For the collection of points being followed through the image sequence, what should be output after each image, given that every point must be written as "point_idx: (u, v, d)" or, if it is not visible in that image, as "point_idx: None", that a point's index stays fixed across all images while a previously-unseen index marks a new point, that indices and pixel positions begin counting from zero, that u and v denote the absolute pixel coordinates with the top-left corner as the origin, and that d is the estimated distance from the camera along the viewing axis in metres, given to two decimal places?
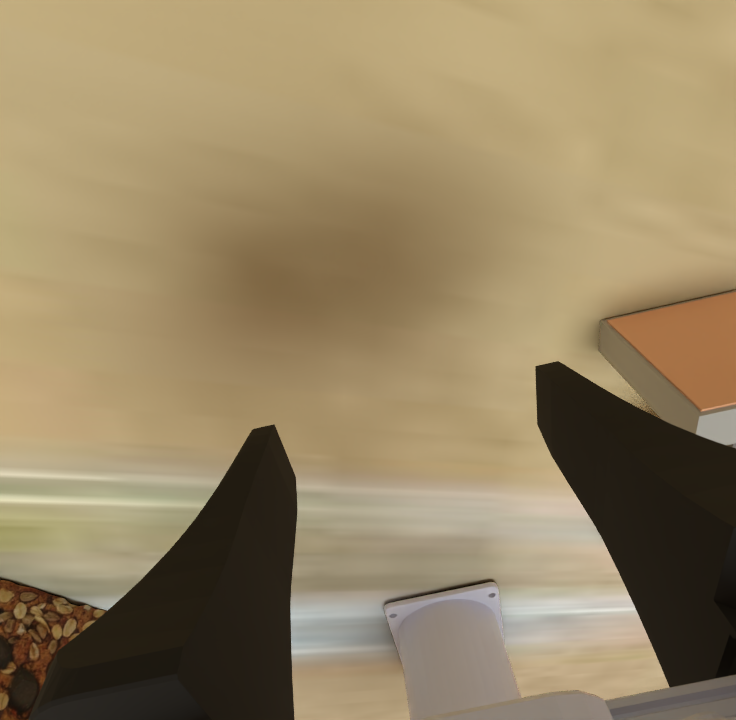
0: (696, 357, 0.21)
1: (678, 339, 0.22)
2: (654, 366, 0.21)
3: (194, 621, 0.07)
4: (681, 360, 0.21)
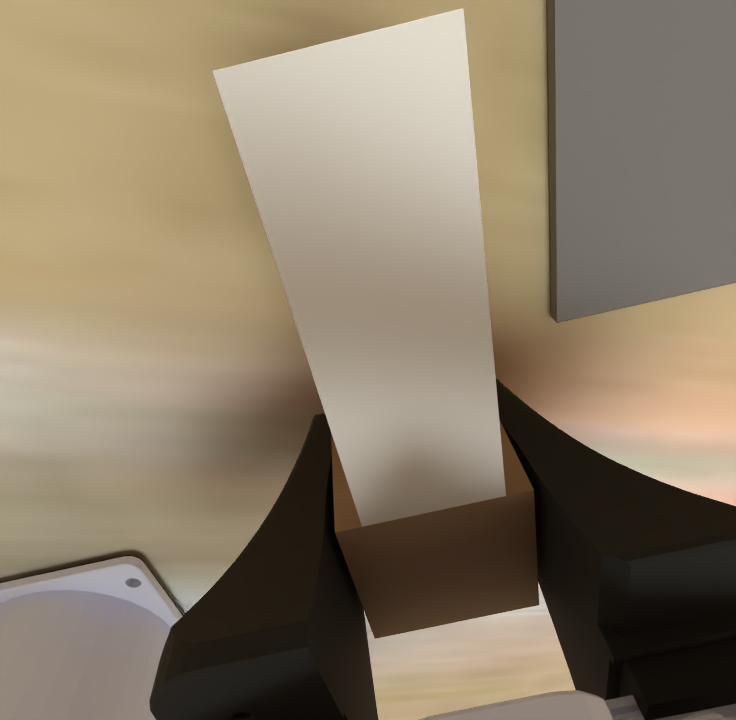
0: None
1: None
2: None
3: (309, 597, 0.07)
4: None
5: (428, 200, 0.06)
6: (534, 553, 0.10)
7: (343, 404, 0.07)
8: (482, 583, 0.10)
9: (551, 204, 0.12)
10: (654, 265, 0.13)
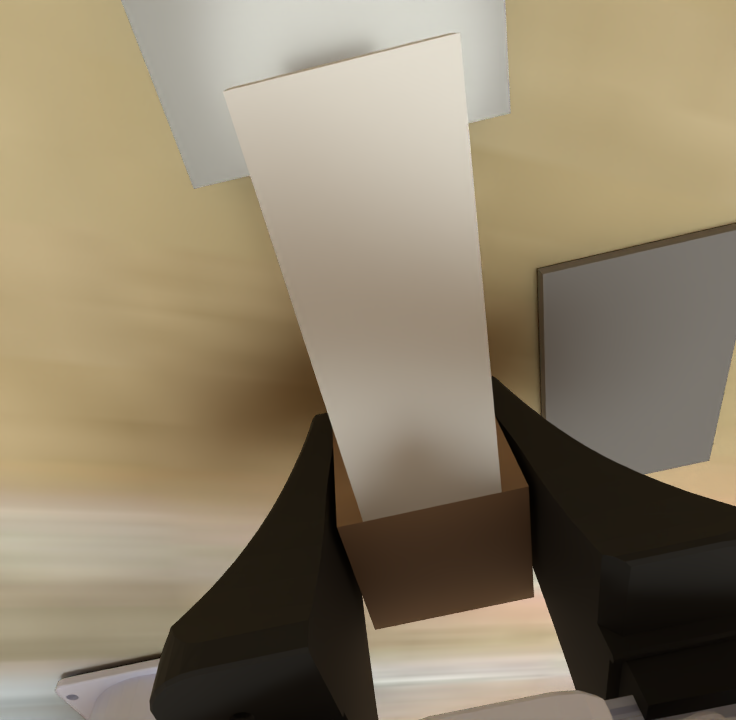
0: None
1: None
2: None
3: (309, 597, 0.07)
4: None
5: (427, 212, 0.06)
6: (529, 547, 0.10)
7: (346, 404, 0.08)
8: (478, 576, 0.11)
9: None
10: (617, 460, 0.18)
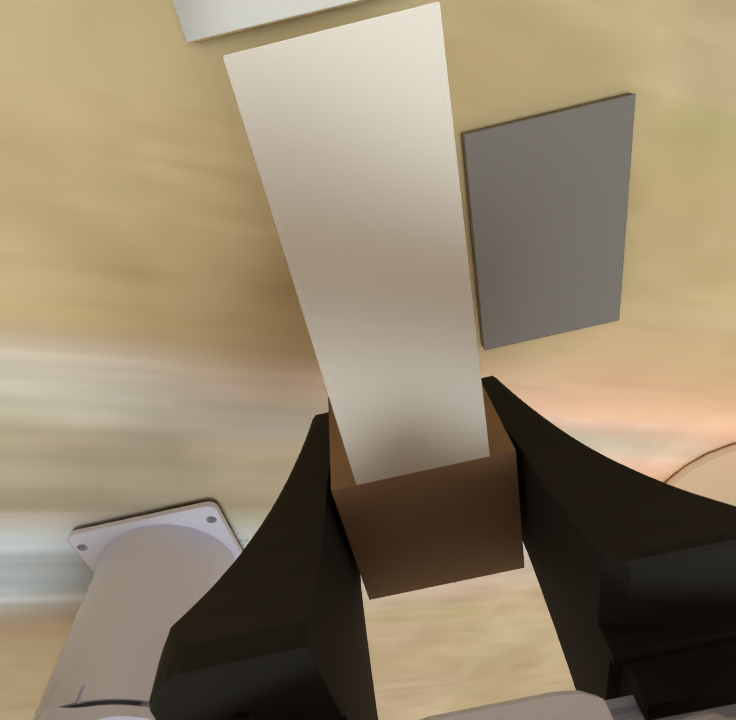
0: None
1: None
2: None
3: (309, 597, 0.07)
4: None
5: (411, 172, 0.07)
6: (518, 514, 0.10)
7: (338, 364, 0.08)
8: (470, 544, 0.11)
9: (476, 282, 0.21)
10: (541, 316, 0.22)
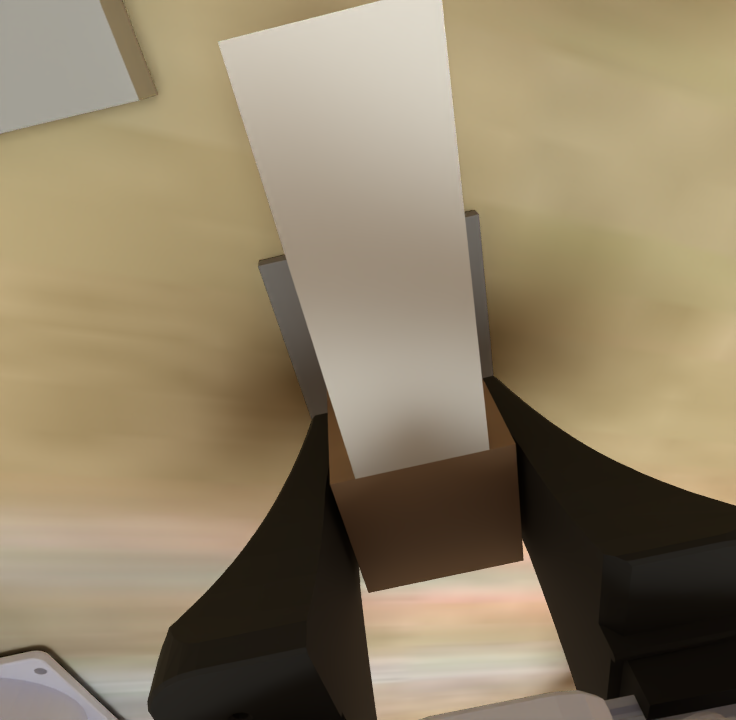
0: None
1: None
2: None
3: (307, 598, 0.07)
4: None
5: (411, 162, 0.07)
6: (517, 507, 0.10)
7: (337, 358, 0.08)
8: (469, 538, 0.11)
9: None
10: None
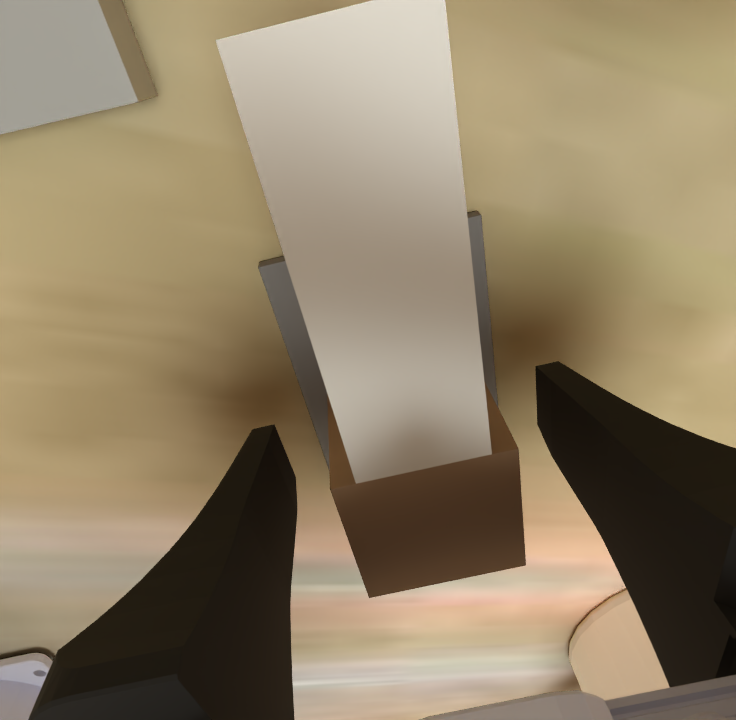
0: None
1: None
2: None
3: (194, 621, 0.07)
4: None
5: (414, 163, 0.07)
6: (520, 512, 0.10)
7: (337, 361, 0.08)
8: (471, 542, 0.11)
9: (315, 425, 0.17)
10: None
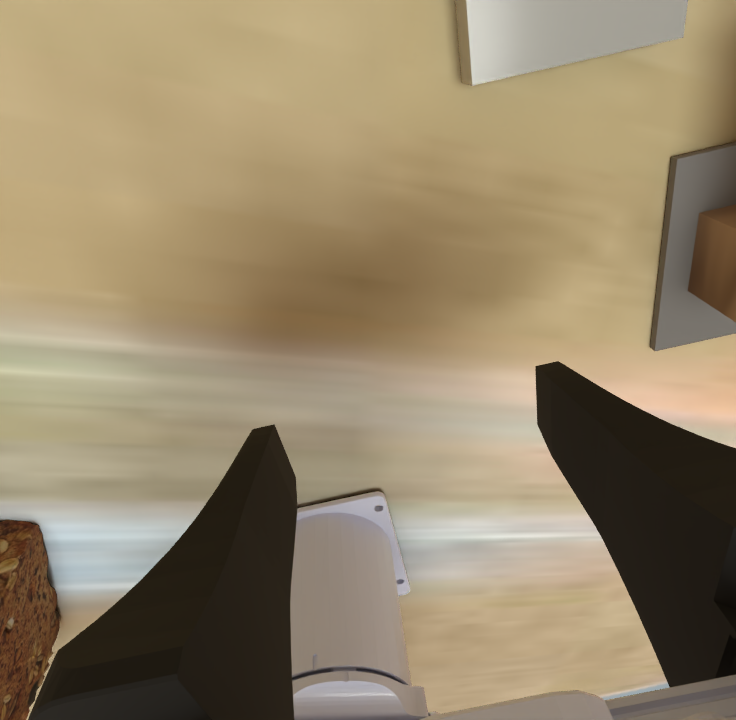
0: None
1: None
2: None
3: (194, 621, 0.07)
4: None
5: None
6: None
7: None
8: None
9: (658, 290, 0.23)
10: (710, 320, 0.24)
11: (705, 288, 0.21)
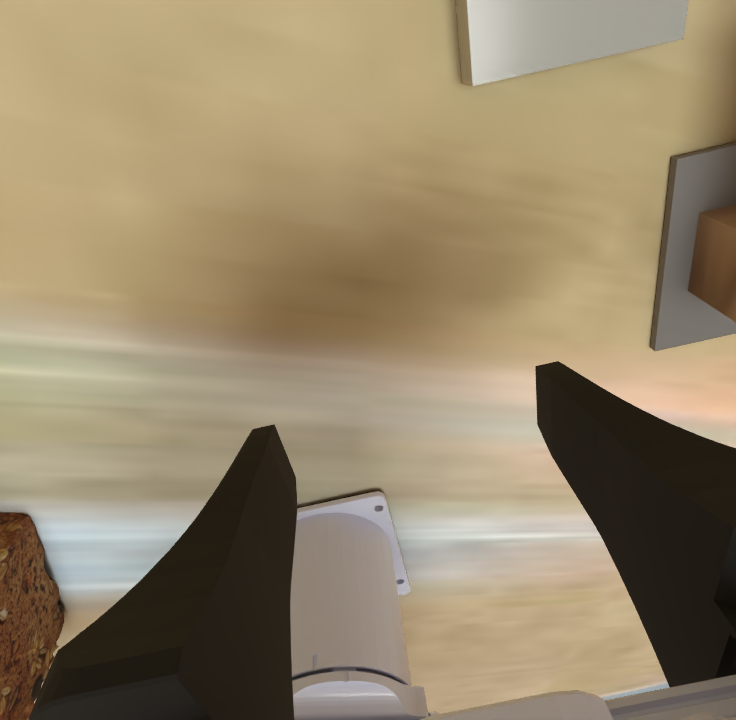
0: None
1: None
2: None
3: (194, 621, 0.07)
4: None
5: None
6: None
7: None
8: None
9: (658, 290, 0.23)
10: (710, 320, 0.24)
11: (705, 288, 0.21)
